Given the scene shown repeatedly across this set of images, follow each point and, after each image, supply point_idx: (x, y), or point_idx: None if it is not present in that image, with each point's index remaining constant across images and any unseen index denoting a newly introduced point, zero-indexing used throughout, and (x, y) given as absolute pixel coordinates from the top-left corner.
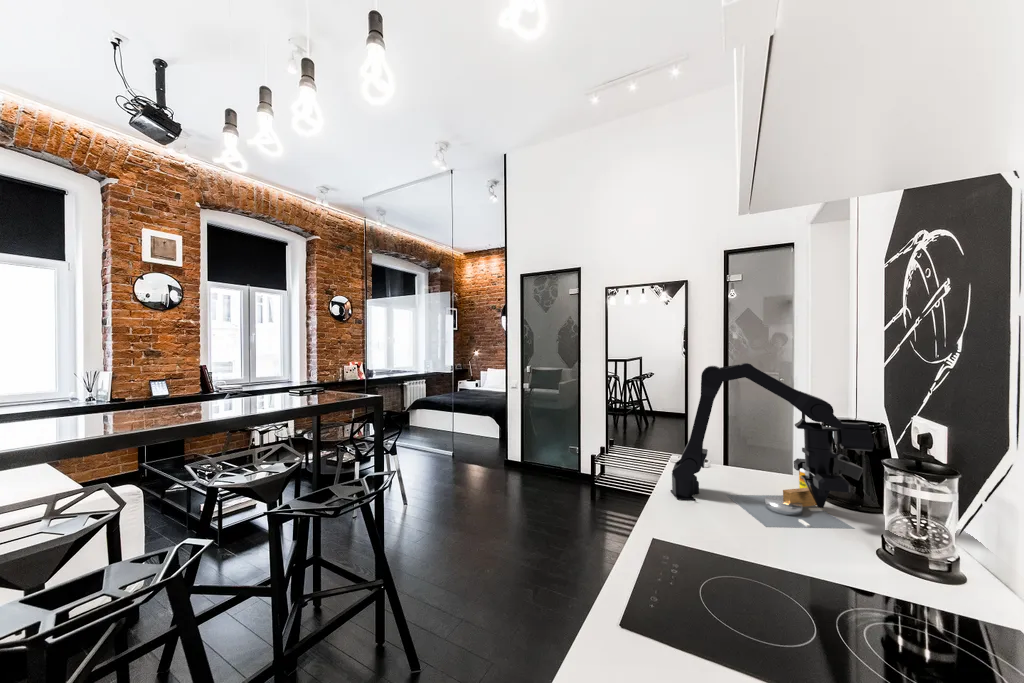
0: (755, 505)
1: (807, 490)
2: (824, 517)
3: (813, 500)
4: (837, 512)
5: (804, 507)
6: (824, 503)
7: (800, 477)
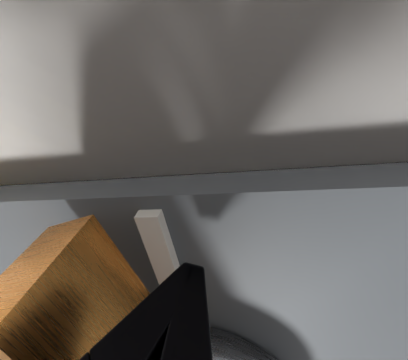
0: None
1: None
2: (296, 267)
3: (101, 289)
4: (59, 37)
5: None
6: (206, 305)
7: None
